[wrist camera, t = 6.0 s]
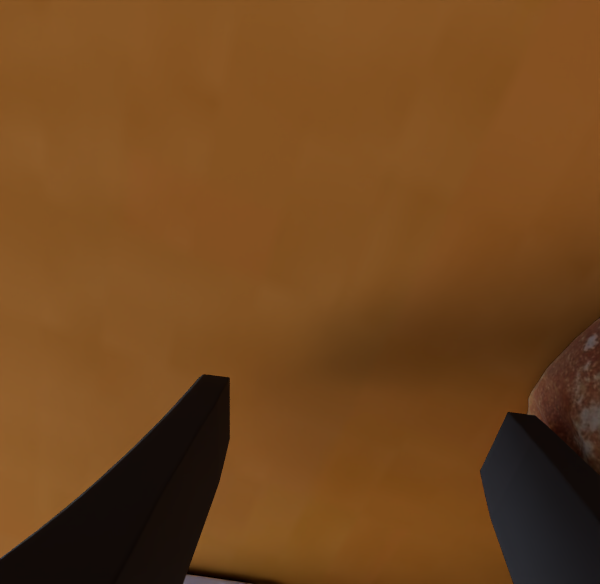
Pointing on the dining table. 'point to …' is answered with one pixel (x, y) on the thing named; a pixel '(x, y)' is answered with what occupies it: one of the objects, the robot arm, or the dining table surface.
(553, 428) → the bread roll
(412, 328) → the dining table surface
